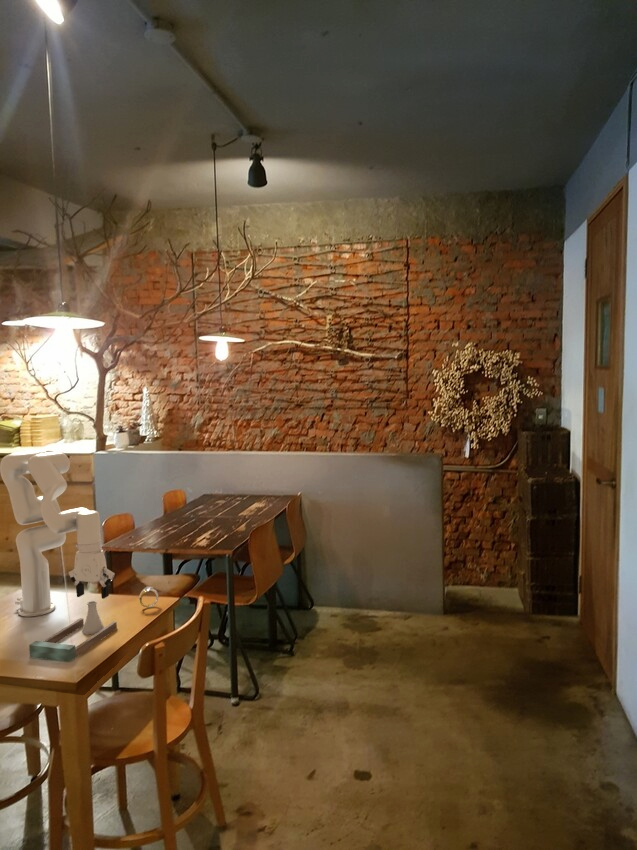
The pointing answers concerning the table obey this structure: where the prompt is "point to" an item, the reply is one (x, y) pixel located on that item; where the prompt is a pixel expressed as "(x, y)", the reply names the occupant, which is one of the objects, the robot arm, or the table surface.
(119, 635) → the table surface
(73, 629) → the guide channel
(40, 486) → the robot arm
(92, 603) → the flask
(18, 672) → the table surface
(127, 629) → the table surface
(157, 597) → the ring
